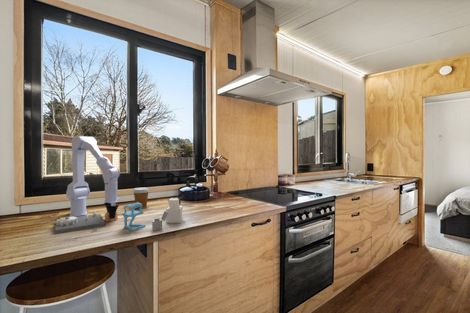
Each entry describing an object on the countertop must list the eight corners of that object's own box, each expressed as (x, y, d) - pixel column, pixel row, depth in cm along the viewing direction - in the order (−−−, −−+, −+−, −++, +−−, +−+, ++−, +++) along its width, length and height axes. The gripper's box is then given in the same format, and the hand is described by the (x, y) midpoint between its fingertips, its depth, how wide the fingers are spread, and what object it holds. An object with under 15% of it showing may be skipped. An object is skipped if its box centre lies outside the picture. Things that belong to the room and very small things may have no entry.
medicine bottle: (168, 218, 125) (168, 196, 125) (182, 218, 126) (182, 196, 126) (166, 223, 118) (166, 199, 118) (180, 223, 119) (180, 199, 119)
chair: (133, 224, 117) (133, 200, 116) (145, 226, 113) (145, 201, 113) (119, 228, 110) (119, 203, 109) (132, 231, 106) (132, 205, 106)
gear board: (56, 222, 117) (56, 214, 116) (100, 216, 128) (100, 208, 128) (55, 233, 102) (55, 223, 102) (105, 225, 113) (105, 216, 113)
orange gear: (104, 219, 123) (104, 212, 123) (116, 217, 127) (116, 211, 127) (105, 221, 119) (105, 215, 119) (118, 220, 122) (118, 213, 122)
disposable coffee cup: (140, 210, 142) (140, 190, 142) (129, 208, 147) (129, 189, 146) (152, 206, 151) (152, 188, 151) (141, 204, 155) (141, 186, 155)
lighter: (153, 230, 107) (153, 213, 107) (152, 229, 109) (152, 212, 108) (168, 228, 111) (168, 211, 111) (167, 227, 113) (167, 210, 112)
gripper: (122, 192, 119) (122, 219, 119) (117, 188, 131) (117, 212, 131) (106, 193, 115) (106, 221, 115) (102, 189, 126) (102, 214, 127)
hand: (111, 216), depth 123 cm, fingers closed on orange gear, 6 cm apart
